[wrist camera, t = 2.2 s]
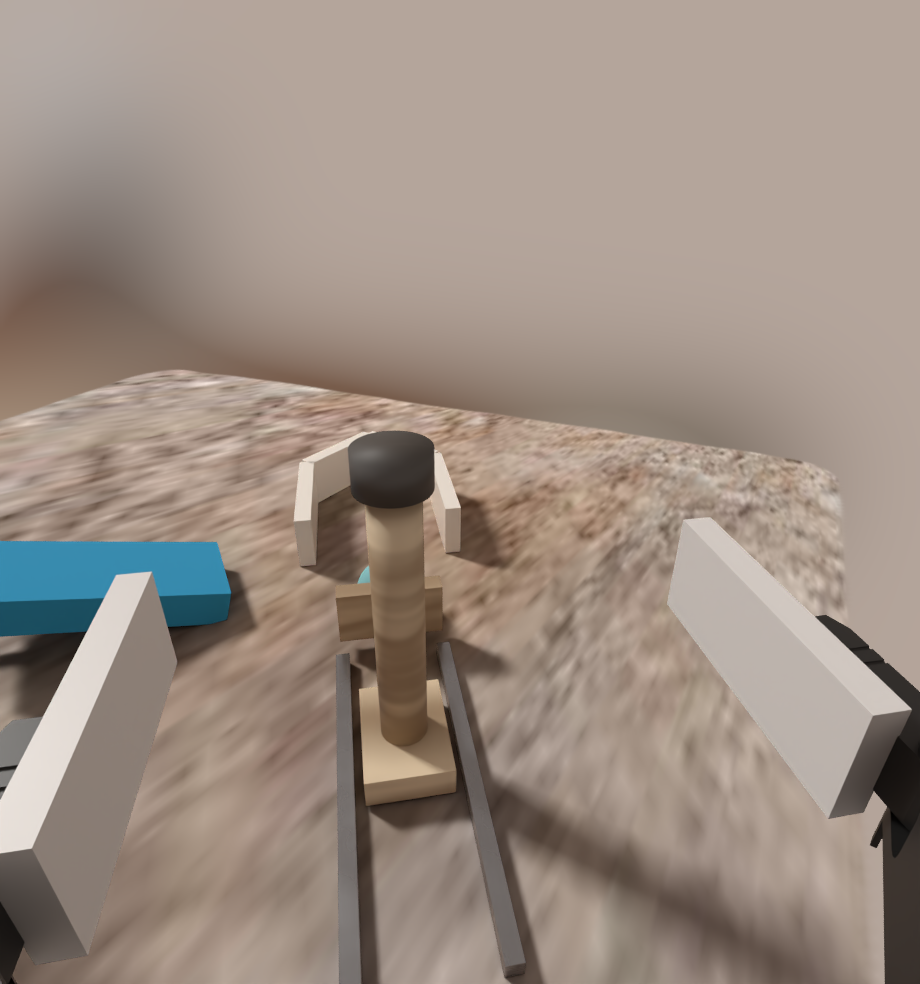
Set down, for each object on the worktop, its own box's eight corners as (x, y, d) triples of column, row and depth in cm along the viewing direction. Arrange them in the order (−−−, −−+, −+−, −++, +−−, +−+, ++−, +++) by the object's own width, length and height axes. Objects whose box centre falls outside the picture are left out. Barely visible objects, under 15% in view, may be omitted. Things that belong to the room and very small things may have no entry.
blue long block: (206, 619, 50) (-93, 635, 40) (216, 542, 47) (-99, 540, 38) (218, 677, 44) (-123, 711, 35) (231, 593, 42) (-132, 606, 32)
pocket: (460, 551, 50) (460, 507, 48) (300, 566, 48) (293, 521, 46) (432, 464, 63) (431, 427, 62) (306, 472, 61) (302, 435, 60)
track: (524, 973, 24) (525, 962, 24) (341, 1011, 23) (339, 1000, 23) (449, 651, 40) (449, 641, 39) (337, 664, 39) (336, 654, 38)
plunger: (475, 789, 31) (486, 476, 23) (344, 809, 30) (305, 489, 22) (439, 628, 41) (437, 373, 33) (341, 639, 40) (313, 379, 32)
